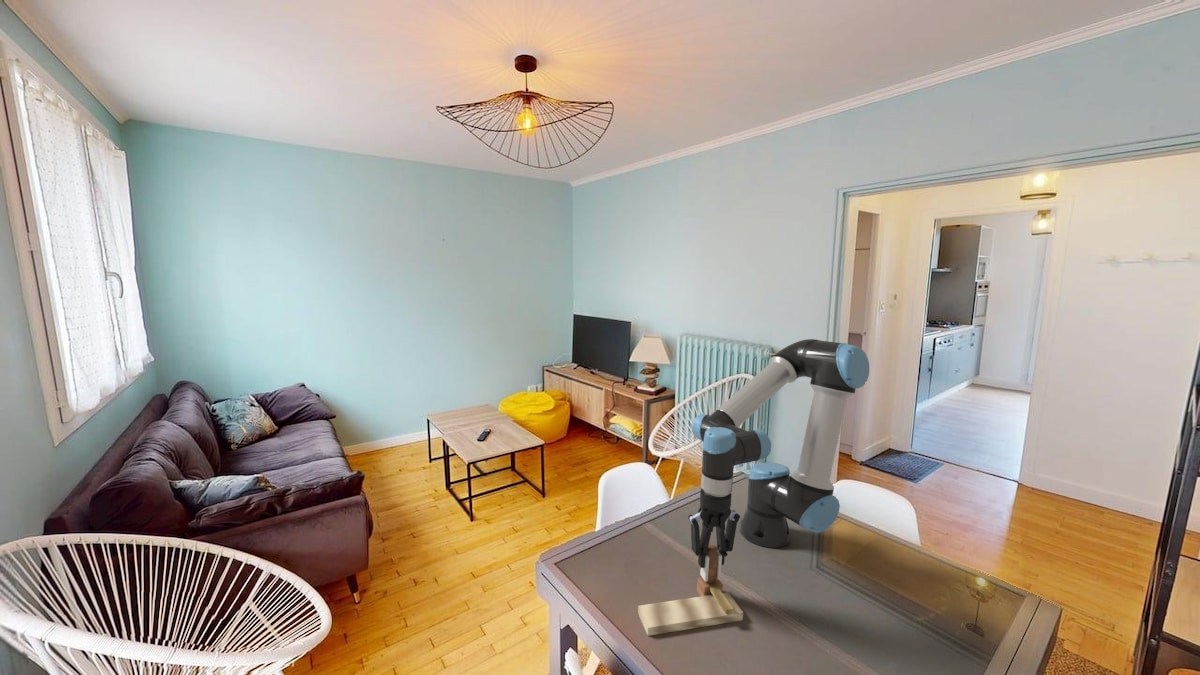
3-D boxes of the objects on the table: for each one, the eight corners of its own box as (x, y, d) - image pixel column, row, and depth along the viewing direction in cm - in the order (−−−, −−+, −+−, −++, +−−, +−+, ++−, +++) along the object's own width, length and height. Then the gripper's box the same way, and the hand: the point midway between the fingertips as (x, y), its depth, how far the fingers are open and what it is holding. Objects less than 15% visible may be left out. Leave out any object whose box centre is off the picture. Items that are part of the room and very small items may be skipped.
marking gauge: (714, 588, 116) (717, 542, 115) (738, 622, 105) (742, 572, 103) (696, 590, 115) (699, 544, 113) (719, 625, 104) (722, 574, 102)
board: (727, 599, 112) (728, 592, 112) (742, 620, 106) (743, 612, 105) (637, 613, 107) (638, 605, 106) (647, 635, 100) (647, 627, 100)
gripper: (736, 481, 116) (730, 564, 119) (680, 485, 112) (675, 571, 115) (752, 494, 108) (746, 582, 111) (693, 500, 105) (687, 591, 108)
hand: (710, 576), depth 113 cm, fingers closed on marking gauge, 3 cm apart
